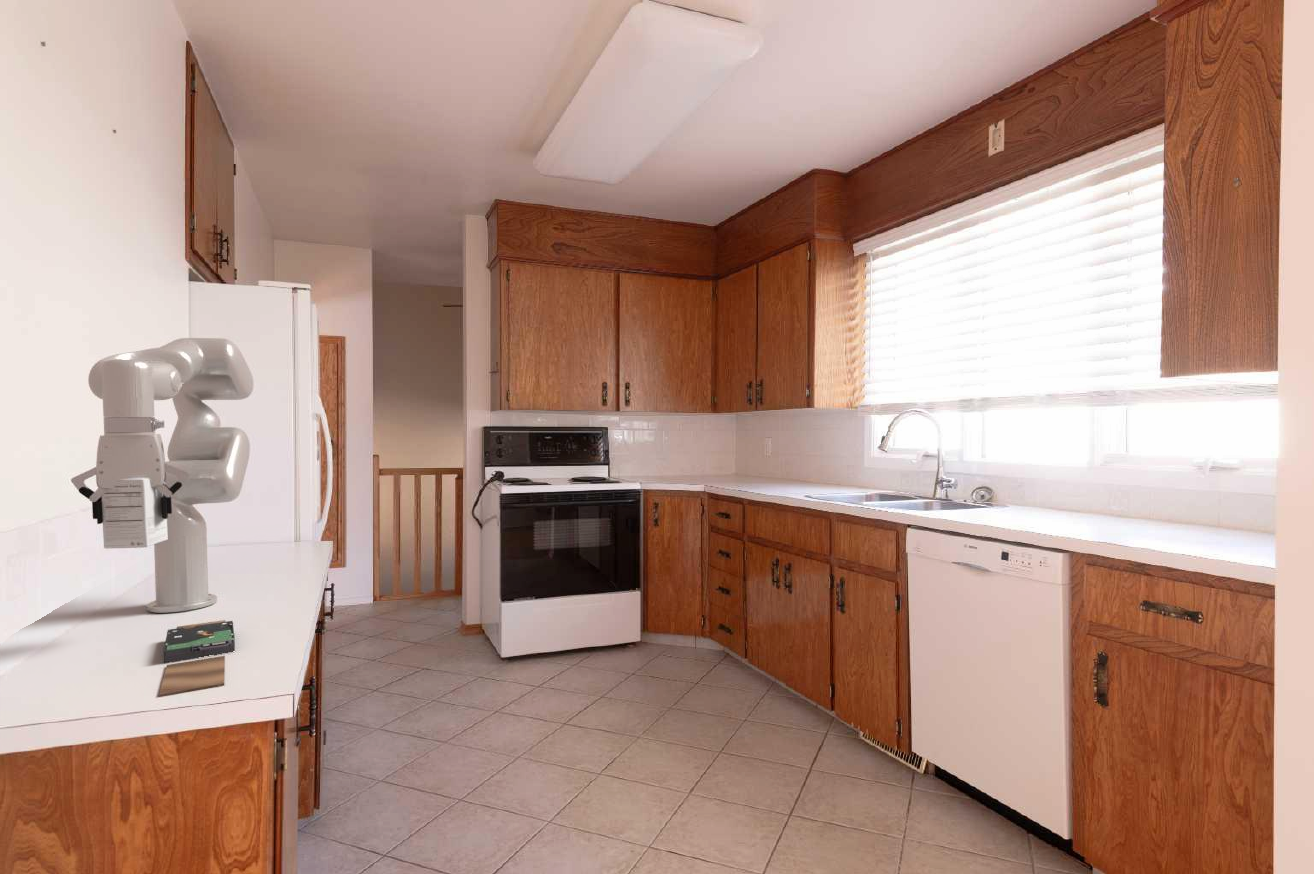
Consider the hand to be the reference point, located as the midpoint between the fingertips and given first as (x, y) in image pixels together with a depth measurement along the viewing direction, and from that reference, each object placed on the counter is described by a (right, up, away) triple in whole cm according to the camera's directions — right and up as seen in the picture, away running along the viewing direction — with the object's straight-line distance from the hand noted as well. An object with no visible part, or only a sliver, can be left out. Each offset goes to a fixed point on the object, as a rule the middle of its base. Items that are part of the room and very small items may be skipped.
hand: (133, 520), depth 130 cm
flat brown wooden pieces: (+17, -22, -8) cm, 29 cm away
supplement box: (0, -5, +1) cm, 5 cm away
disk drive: (+16, -22, -5) cm, 28 cm away
